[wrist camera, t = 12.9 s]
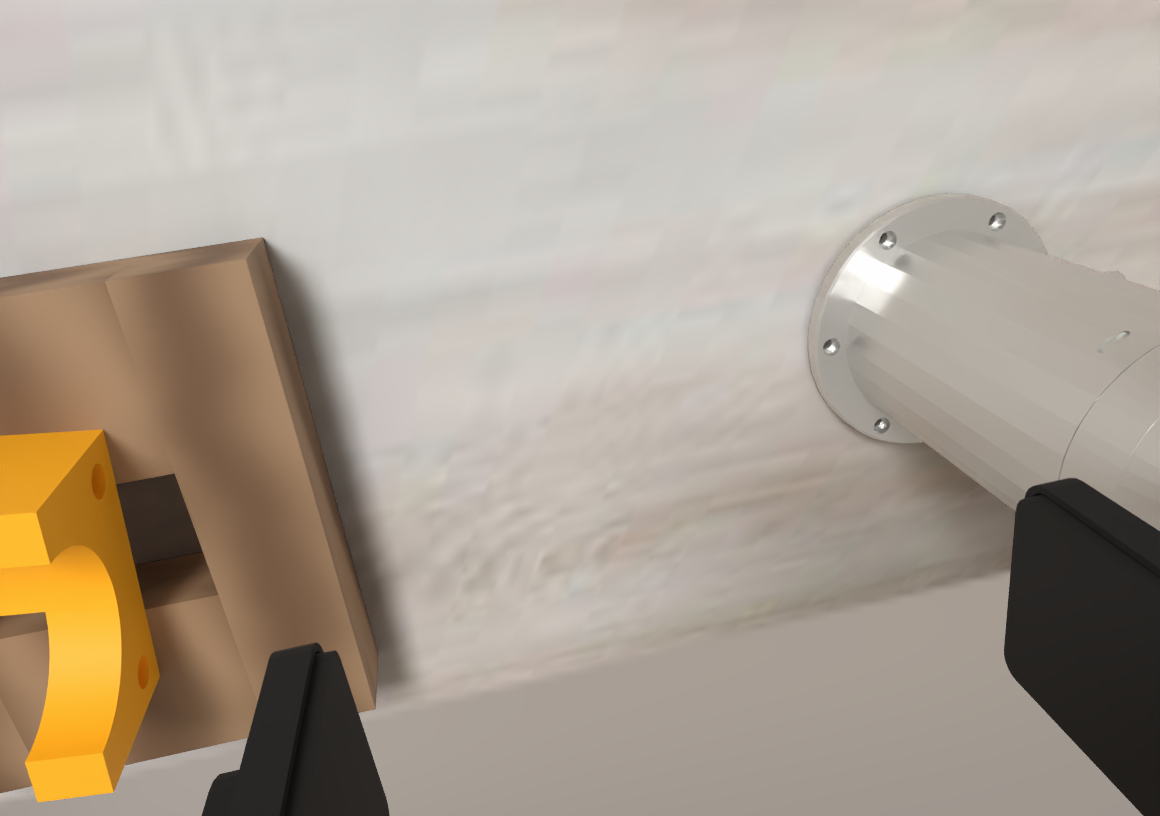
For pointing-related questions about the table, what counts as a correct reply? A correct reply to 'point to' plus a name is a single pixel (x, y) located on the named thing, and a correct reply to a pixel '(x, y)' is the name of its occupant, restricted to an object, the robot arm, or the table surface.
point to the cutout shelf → (186, 482)
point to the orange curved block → (76, 606)
